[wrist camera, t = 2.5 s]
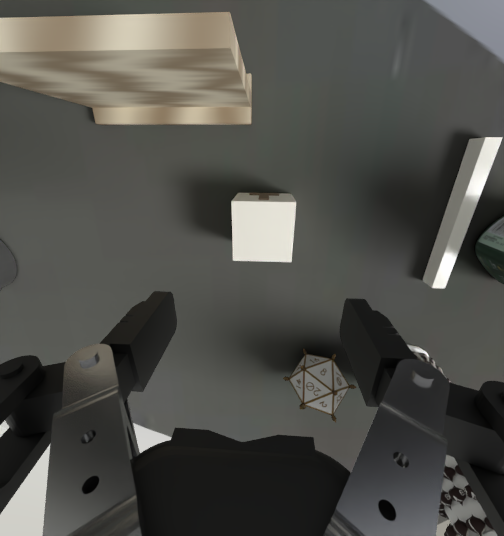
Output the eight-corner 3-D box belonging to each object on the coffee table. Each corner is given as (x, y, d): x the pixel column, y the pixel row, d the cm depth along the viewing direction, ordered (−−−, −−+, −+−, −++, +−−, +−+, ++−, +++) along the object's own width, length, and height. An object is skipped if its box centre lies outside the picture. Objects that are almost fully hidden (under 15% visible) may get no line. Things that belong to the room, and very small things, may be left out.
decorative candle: (363, 386, 39) (493, 698, 17) (374, 341, 36) (562, 667, 13) (422, 388, 39) (639, 714, 16) (440, 343, 35) (757, 687, 12)
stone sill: (434, 280, 31) (444, 288, 29) (422, 280, 31) (431, 287, 29) (485, 138, 24) (502, 137, 23) (469, 138, 24) (485, 137, 23)
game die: (298, 348, 42) (262, 389, 35) (327, 325, 36) (290, 370, 29) (339, 391, 39) (308, 444, 33) (376, 375, 33) (348, 435, 27)
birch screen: (251, 76, 23) (228, -35, 10) (251, 124, 25) (231, 86, 11) (91, 78, 24) (-135, -22, 11) (101, 124, 26) (-83, 89, 12)
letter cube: (287, 243, 30) (291, 262, 25) (239, 242, 31) (233, 260, 25) (290, 192, 28) (296, 200, 22) (238, 191, 28) (231, 199, 23)
